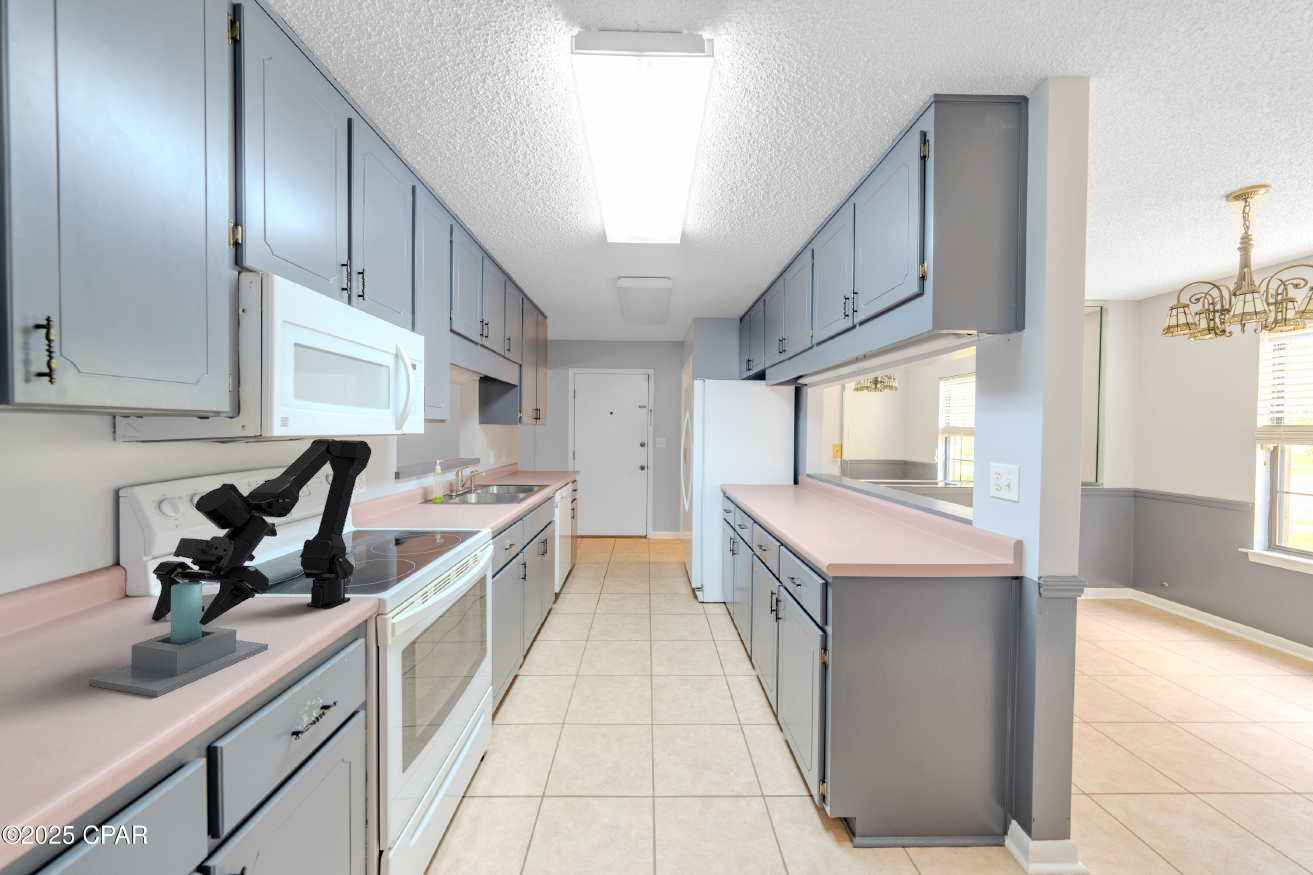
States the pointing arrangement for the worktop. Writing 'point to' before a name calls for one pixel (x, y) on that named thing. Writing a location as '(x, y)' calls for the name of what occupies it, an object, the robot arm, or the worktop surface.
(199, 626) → the peg
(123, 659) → the worktop surface
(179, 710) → the worktop surface
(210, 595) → the charger
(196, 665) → the socket holder
